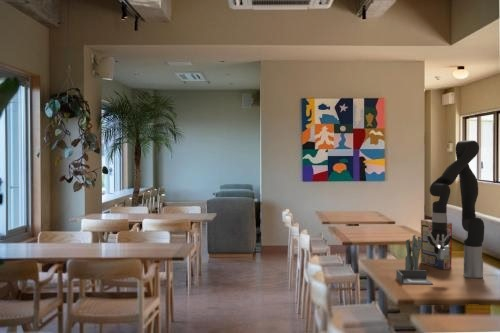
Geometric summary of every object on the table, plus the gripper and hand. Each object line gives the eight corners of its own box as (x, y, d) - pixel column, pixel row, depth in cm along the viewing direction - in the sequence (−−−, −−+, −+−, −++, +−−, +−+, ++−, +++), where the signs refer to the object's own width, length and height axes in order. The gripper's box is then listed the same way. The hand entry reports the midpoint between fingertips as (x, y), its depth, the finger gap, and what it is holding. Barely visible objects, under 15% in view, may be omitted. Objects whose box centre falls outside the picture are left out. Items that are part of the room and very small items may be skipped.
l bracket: (434, 254, 291) (434, 245, 290) (447, 254, 291) (447, 245, 290) (440, 259, 282) (440, 249, 281) (453, 259, 282) (454, 250, 281)
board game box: (451, 269, 318) (452, 223, 317) (443, 269, 315) (444, 223, 314) (427, 262, 337) (428, 219, 336) (419, 263, 334) (420, 219, 333)
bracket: (413, 276, 299) (414, 240, 299) (400, 274, 303) (401, 239, 302) (423, 266, 324) (423, 233, 323) (410, 265, 327) (411, 232, 326)
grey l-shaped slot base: (426, 278, 294) (426, 270, 294) (432, 284, 281) (432, 275, 281) (396, 278, 295) (396, 269, 295) (401, 284, 282) (401, 275, 282)
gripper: (449, 220, 290) (449, 252, 290) (424, 220, 289) (423, 252, 290) (455, 222, 282) (454, 255, 283) (428, 222, 282) (428, 255, 283)
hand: (438, 253), depth 286 cm, fingers closed on l bracket
